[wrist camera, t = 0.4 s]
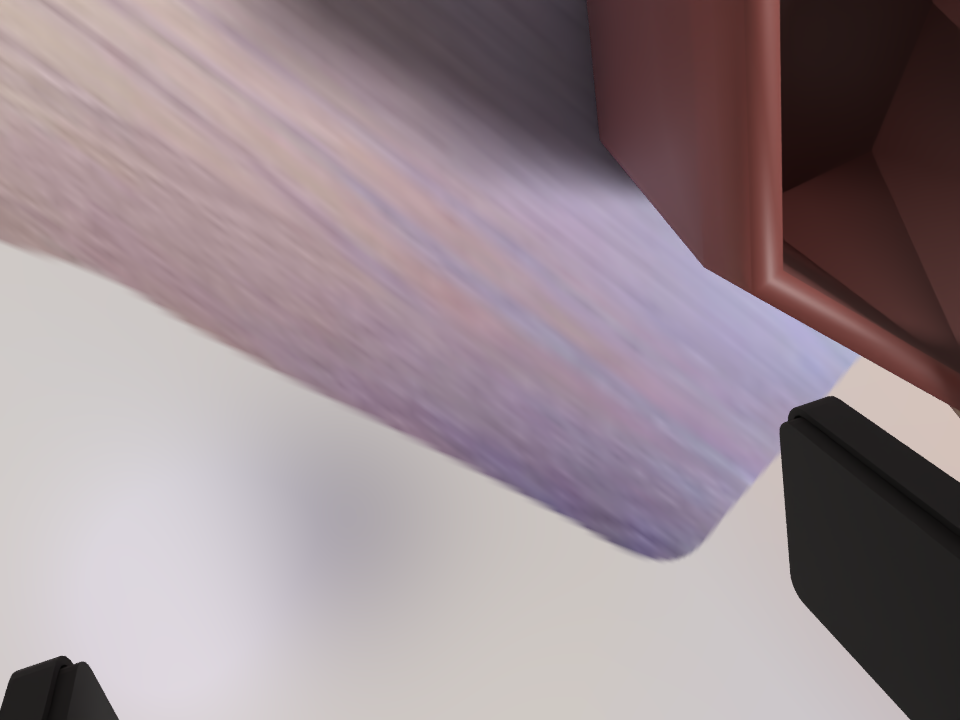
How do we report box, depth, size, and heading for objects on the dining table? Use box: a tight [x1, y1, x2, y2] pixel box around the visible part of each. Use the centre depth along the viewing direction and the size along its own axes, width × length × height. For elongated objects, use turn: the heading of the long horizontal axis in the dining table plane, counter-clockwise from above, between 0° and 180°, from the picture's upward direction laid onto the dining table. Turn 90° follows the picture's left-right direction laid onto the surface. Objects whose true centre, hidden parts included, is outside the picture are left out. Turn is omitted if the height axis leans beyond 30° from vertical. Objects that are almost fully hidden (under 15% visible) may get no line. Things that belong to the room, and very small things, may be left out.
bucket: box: [586, 0, 960, 418], centre depth 32 cm, size 24×22×25 cm
